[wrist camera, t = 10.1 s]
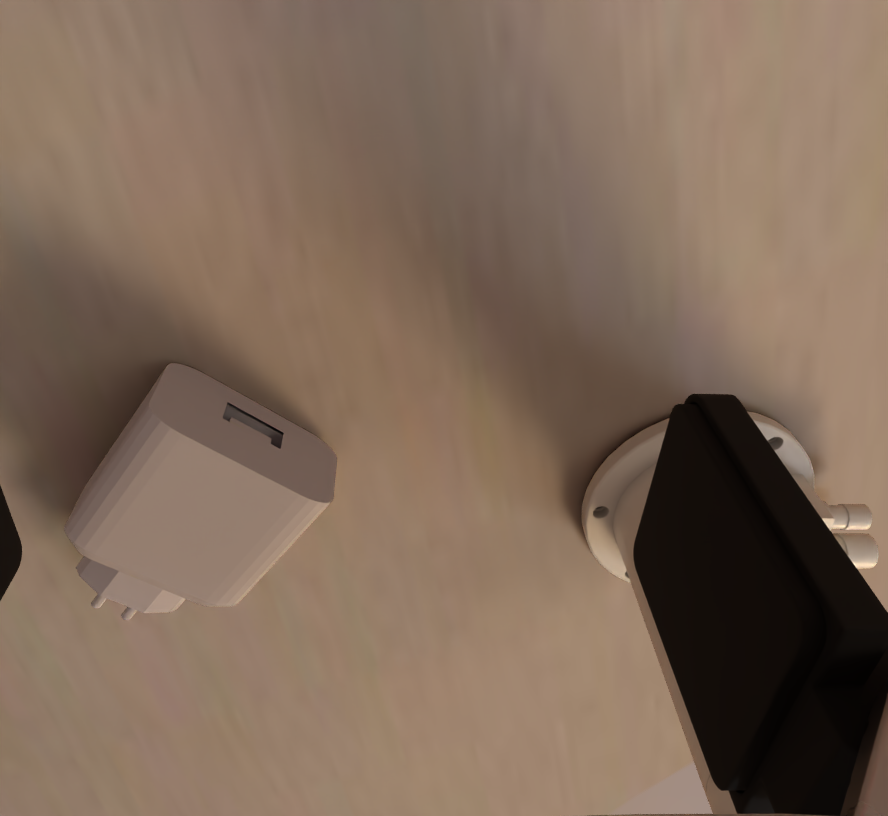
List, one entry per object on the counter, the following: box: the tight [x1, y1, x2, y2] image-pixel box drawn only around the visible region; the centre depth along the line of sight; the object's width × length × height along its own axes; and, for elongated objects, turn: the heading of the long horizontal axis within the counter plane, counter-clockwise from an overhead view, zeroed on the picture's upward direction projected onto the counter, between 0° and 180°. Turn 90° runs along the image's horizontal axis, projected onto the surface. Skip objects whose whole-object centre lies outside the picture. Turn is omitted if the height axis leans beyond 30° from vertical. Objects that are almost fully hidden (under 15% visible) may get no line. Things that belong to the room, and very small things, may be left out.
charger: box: [64, 363, 337, 620], centre depth 37 cm, size 5×9×15 cm
